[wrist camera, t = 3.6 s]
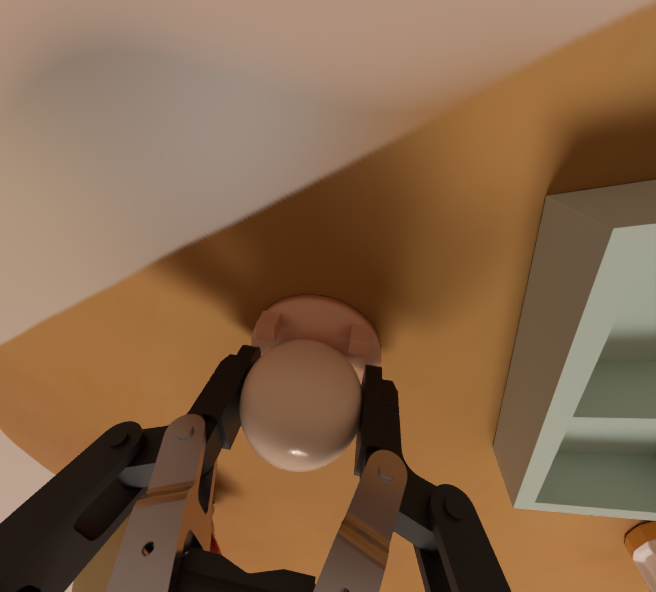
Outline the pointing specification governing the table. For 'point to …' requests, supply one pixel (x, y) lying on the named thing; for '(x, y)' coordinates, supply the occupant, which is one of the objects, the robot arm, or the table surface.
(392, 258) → the table surface
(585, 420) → the egg tray
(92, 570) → the yellow toy animal head
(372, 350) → the egg cup
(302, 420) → the brown egg
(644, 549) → the cup
